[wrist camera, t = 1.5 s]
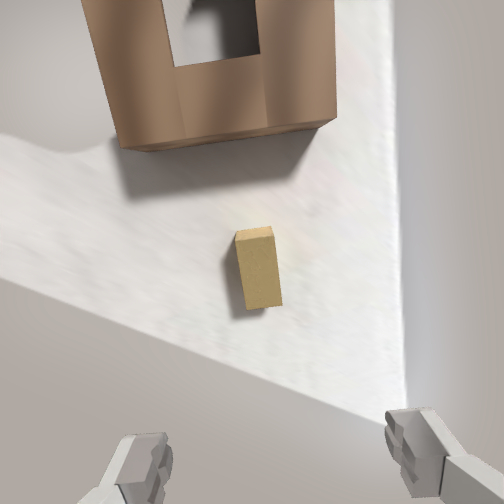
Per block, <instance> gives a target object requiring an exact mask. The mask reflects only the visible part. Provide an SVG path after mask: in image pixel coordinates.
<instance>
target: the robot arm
mask: <svg viewBox="0 0 504 504" xmlns="http://www.w3.org/2000/svg"><path fill="white" fill-rule="evenodd" d="M385 419H386V421H387V423H388V425H387V426H386V427H385V438H386V442H387V445H388V448H389V451H390V453H391V455H392V457H393V459H394V460H395V461H396V462H397V463H399V464H400V465H401V476H402V478H403V480H404V482H405V484H406V486H407V488H408V490H409V492H410V494H411V496H412V498H419V497H440V499H441V500H442V501H443V502H444V503H445V504H504V475H503V474H501V473H500V472H498V471H497V470H495V469H494V468H492V467H491V466H489V465H488V464H486V463H485V462H483V461H482V460H480V459H479V458H477V457H476V456H474V455H468V454H467V453H466V451H465V450H464V449H463V447H462V446H461V445H460V443H459V442H458V441H457V439H456V438H455V437H454V436H453V434H452V433H451V432H450V430H449V429H448V428H447V426H446V425H445V424H444V423H443V421H442V420H441V418H440V417H439V416H438V414H437V413H436V412H435V411H434V410H433V409H432V408H431V407H422V408H408V409H399V410H390V411H386V413H385ZM167 440H168V437H167V435H166V433H165V432H164V433H149V434H135V435H125V436H124V437H123V438H122V439H121V441H120V443H119V445H118V447H117V449H116V451H115V453H114V455H113V457H112V459H111V461H110V463H109V465H108V467H107V469H106V471H105V473H104V475H103V477H102V479H101V481H100V483H99V485H98V486H97V487H93V488H92V489H91V490H90V491H89V492H88V493H87V494H86V495H85V496H84V497H83V498H82V499H81V500H80V501H79V502H78V503H77V504H163V500H164V497H165V491H164V488H163V486H164V485H165V483H166V482H167V481H168V480H169V478H170V474H171V470H172V463H173V455H172V450H171V447H170V446H168V445H167Z"/></svg>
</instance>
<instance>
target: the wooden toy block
mask: <svg viewBox="0 0 504 504" xmlns="http://www.w3.org/2000/svg"><path fill="white" fill-rule="evenodd" d="M235 246H236V251H237V257H238V263H239V269H240V275H241V281H242V286H243V292H244V298H245V304H246V310H251V309H259V308H267V307H274V306H282V297H281V288H280V280H279V272H278V264H277V255H276V247H275V239H274V234H273V231H272V228H271V226H268V227H261V228H254V229H247V230H240V231H237V233H236V238H235Z"/></svg>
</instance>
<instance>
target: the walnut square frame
mask: <svg viewBox="0 0 504 504" xmlns="http://www.w3.org/2000/svg"><path fill="white" fill-rule="evenodd" d="M81 2H82V6H83V10H84V13H85V17H86V20H87V25H88V28H89V32H90V36H91V39H92V43H93V47H94V51H95V55H96V58H97V62H98V65H99V69H100V73H101V77H102V80H103V84H104V88H105V91H106V96H107V99H108V103H109V107H110V110H111V114H112V118H113V121H114V125H115V129H116V133H117V136H118V140H119V144H120V148H123V149H130V150H136V151H143V152H152V151H159V150H167V149H174V148H181V147H188V146H195V145H202V144H209V143H216V142H223V141H230V140H238V139H245V138H252V137H259V136H266V135H273V134H280V133H287V132H294V131H302V130H309V129H316V128H320V127H322V126H323V125H325V124H327V123H328V122H330V121H332V120H333V119H335V118H337V98H336V55H335V12H334V0H255V9H256V19H257V29H258V39H259V49H260V54H257V55H251V56H244V57H238V58H231V59H225V60H218V61H212V62H205V63H199V64H192V65H185V66H179V67H174V61H173V56H172V51H171V46H170V40H169V35H168V30H167V25H166V19H165V14H164V9H163V4H162V0H81Z"/></svg>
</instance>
